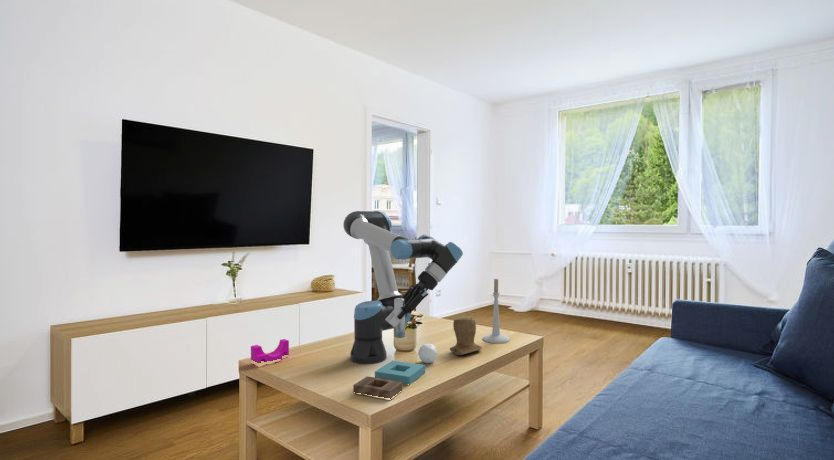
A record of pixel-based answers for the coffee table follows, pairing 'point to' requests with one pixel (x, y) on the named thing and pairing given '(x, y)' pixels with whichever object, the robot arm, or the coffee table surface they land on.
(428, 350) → the geometric ball
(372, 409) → the coffee table surface
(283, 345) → the magenta curved bracket
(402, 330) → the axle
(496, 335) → the candlestick
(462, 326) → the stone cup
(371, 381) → the brown rectangular frame
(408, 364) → the seat block
